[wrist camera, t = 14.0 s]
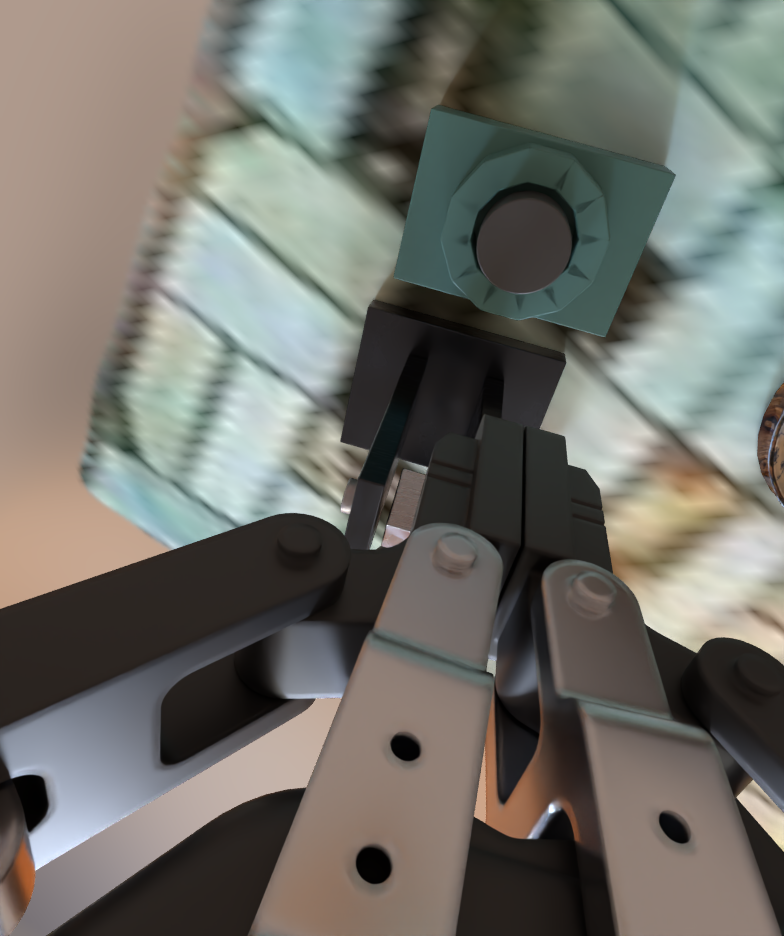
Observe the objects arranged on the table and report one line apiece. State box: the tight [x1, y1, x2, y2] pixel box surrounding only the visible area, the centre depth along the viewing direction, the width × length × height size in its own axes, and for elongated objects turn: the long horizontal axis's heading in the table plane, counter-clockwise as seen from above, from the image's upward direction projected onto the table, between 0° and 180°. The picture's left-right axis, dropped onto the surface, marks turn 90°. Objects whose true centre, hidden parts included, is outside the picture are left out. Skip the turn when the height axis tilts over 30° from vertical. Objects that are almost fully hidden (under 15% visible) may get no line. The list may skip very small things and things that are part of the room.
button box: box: [394, 105, 676, 337], centre depth 28 cm, size 10×7×4 cm
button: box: [477, 191, 572, 294], centre depth 25 cm, size 4×4×2 cm
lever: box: [376, 468, 426, 550], centre depth 30 cm, size 12×3×3 cm
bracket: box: [340, 300, 566, 550], centre depth 29 cm, size 8×10×13 cm
